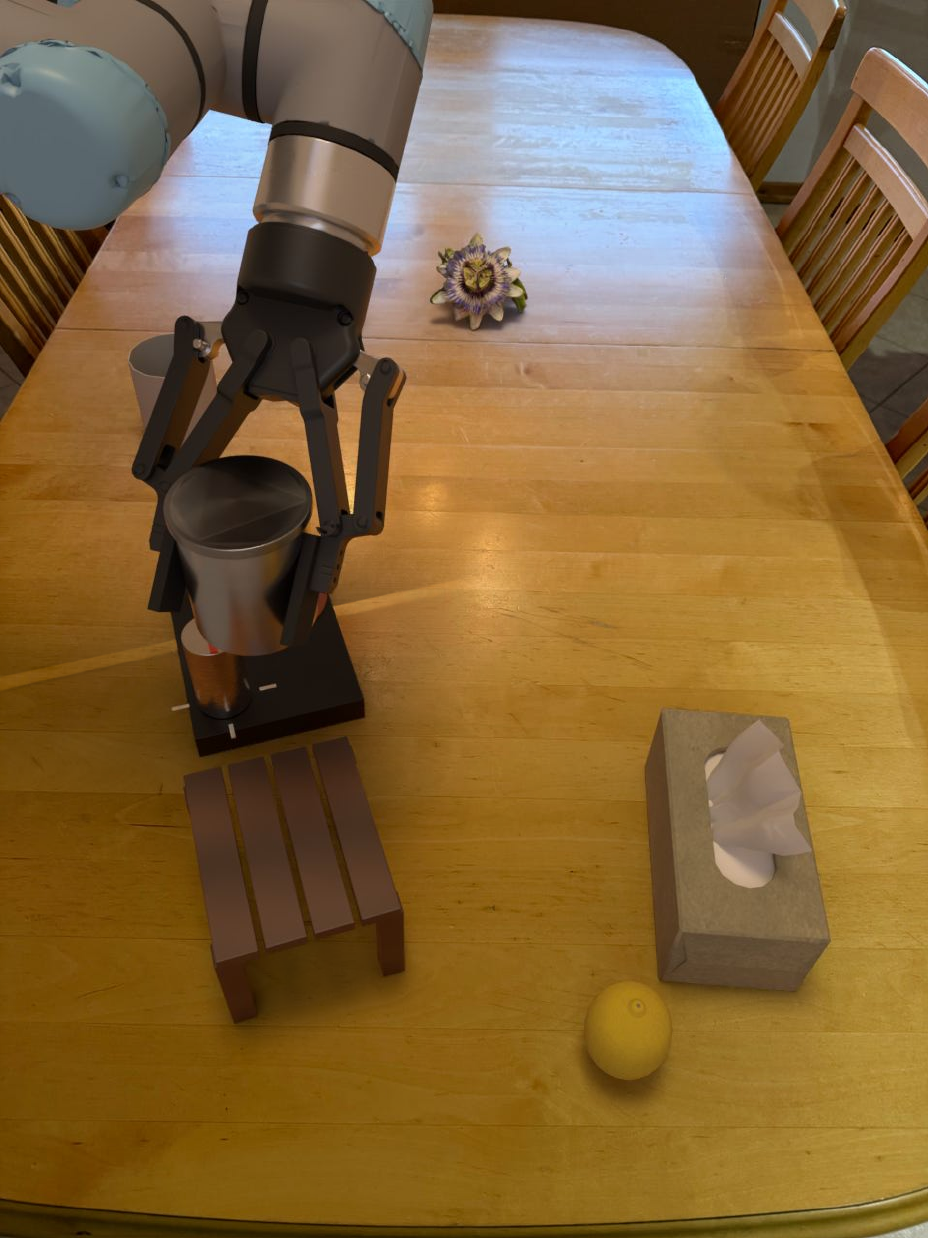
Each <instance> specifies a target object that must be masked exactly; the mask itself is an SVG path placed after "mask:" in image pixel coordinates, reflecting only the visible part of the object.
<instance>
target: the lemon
mask: <svg viewBox="0 0 928 1238" xmlns="http://www.w3.org/2000/svg"><path fill="white" fill-rule="evenodd" d="M583 1038H584V1042H585V1047H586V1049H587V1052H588V1054H589V1056H590V1058H591V1059H592V1061H593V1062H594V1063H595V1065H596V1066H597V1067H598V1068H599V1069H600V1070H602V1071H603V1072H604V1073H605V1074H607V1075H609V1076H612V1077H614V1078H616V1079H620V1080H625V1081H630V1080H631V1081H633V1080H639V1079H642V1078H644V1077H645V1078H646V1077H647V1076H649V1075H651V1074H652V1073H654V1072H655V1071H656V1070H658V1068H659V1067H660V1066H661V1064H662V1063H663V1062H664V1061H665V1059H666V1058H667V1056H668V1053H669V1051H670V1048H671V1046H672V1040H673V1023H672V1016H671V1013H670V1011H669V1008H668V1006H667V1004H666V1002H665V1001H664V1000H663V998H662V997H661V995H660V994H659V993H658V992H656V991H655V990H654V989H653V988H652V987H649V986H648V985H646V984H645V983H641V982H638V981H635V980H634V981H633V980H622V981H618V982H614V983H612V984H610V985H608V986H606V987H604V988H603V989H602V990H601V991H600V992H599V993H598V994H597V995H596V996H595V997H594V998H593V1000H592V1001H591V1003H590V1005H589V1006H588V1007H587V1010H586V1014H585V1017H584V1021H583Z"/></svg>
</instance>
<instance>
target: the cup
mask: <svg viewBox="0 0 928 1238" xmlns="http://www.w3.org/2000/svg"><path fill="white" fill-rule="evenodd" d="M173 353H174V332H172V333H164V334H156V335H154V336H151V337H148V338H146V339H143V340H140V341H139V342H138V343H137V344H135V346H134V347H132V348H131V349H130V350H129V353H128V357H127V363H128V368H129V371H130V377H131V380H132V384H133V387H134V392H135V396H136V400H137V404H138V409H139V413H140V417H141V420H142V425H143V429H144V431H145V430H146V427H147V425H148V422H149V419H150V416H151V414H152V411H153V408H154V406H155V403H156V400H157V398H158V395H159V392H160V390H161V387H162V384H163V382H164V379H165V376H166V374H167V371H168V368H169V366H170V363H171V360H172V357H173ZM213 360H214V359H213ZM213 360H211V363H210V369H209V373H208V376H207V379H206V382H205V385H204V387H203V390H202V393H201V395H200V398H199V401H198V403H197V406H196V409H195V411H194V414H193V417H192V419H191V422H190V424H189V427H188V430H187V432H186V435H185V438H184V440H183V443H182V445H183V444H184V442H185V441H186V439H187V438H188V436H189V435H190V433H191V432H192V430H193V429H194V427H195V426H196V424H197V423H198V421H199V420H200V418H201V417H202V415H203V414H204V412H205V411H206V409H207V408H208V406H209V405H210V403H211V402H212V400H213V399H214V397H215V395H216V393H217V386H218V384H217V379H216V378H217V377H216V372H215V367H214V361H213ZM181 447H182V446H181Z"/></svg>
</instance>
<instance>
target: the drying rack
mask: <svg viewBox="0 0 928 1238" xmlns="http://www.w3.org/2000/svg"><path fill="white" fill-rule="evenodd" d="M307 747H308V746H306V745H301V746H298V747H294V748H290V749H289V748H288V749H285V750H282V751H277V752H273V753H270V754H269V758H270V763H271V767H272V772H273V776H274V780H275V783H276V784H275V785H276V787H277V790H278V795H279V800H280V804H281V808H282V811H283V816H284V820H285V824H286V829H287V833H288V836H289V837H288V838H289V840H290V844H291V848H292V852H293V853H292V854H293V857H294V861H295V865H296V869H297V873H298V878H299V881H300V885H301V890H302V893H303V898H304V902H305V906H306V910H307V914H308V918H309V922H310V926H311V930H312V934H313V938H314V940H315V941H319V940H323V939H326V938H329V937H333V936H337V935H340V934H343V933H347V932H350V931H354V930H355V929H356V921H355V916H354V913H353V909H352V905H351V901H350V898H349V894H348V892H347V888H346V885H345V881H344V877H343V873H342V869H341V866H340V863H339V859H338V855H337V853H336V852H337V851H336V848H335V844H334V841H333V838H332V834H331V830H330V827H329V822H328V819H327V816H326V812H325V809H324V806H323V801H322V798H321V794H320V790H319V786H318V783H317V780H316V776H315V772H314V769H313V765H312V762H311V758H310V755H309V751H308V748H307ZM311 748H312V749H311V750H312V753H313V758H314V761H315V764H316V767H317V771H318V775H319V778H320V782H321V786H322V790H323V793H324V797H325V801H326V804H327V807H328V811H329V815H330V818H331V822H332V825H333V828H334V833H335V836H336V840H337V843H338V846H339V850H340V853H341V857H342V860H343V864H344V868H345V871H346V875H347V879H348V882H349V885H350V889H351V893H352V896H353V900H354V903H355V906H356V911H357V914H358V918H359V921H360V925H361V927H363V928H364V927H367V926H370V925H373V924H374V925H375V940H376V955H377V960H378V964H379V967H380V970H381V971H380V972H381V974H382V977H383V978H387V977H389V976H392V975H395V974H399V973H402V972H405V971H406V963H405V962H406V958H405V957H406V955H405V952H406V951H405V949H406V947H405V910H404V907H403V904H402V901H401V897H400V895H399V892H398V890H397V889H396V885H395V883H394V880H393V876H392V873H391V870H390V867H389V863H388V860H387V857H386V854H385V851H384V848H383V845H382V841H381V838H380V835H379V832H378V828H377V825H376V821H375V818H374V816H373V813H372V810H371V807H370V803H369V799H368V797H367V793H366V790H365V787H364V784H363V780H362V777H361V775H360V772H359V769H358V762H357V757H356V755H355V752H354V749H353V746H352V745H351V742H350V740H349V736H348V735H343V736H338V737H334V738H331V739H327V740H321V741H317V742H314V743H312V744H311ZM226 769H227V773H228V777H229V782H230V787H231V791H232V795H233V802H234V806H235V807H234V808H235V812H236V815H237V816H236V817H237V821H238V825H239V830H240V836H241V839H242V844H243V849H244V854H245V858H246V863H247V868H248V873H249V878H250V883H251V887H252V892H253V896H254V902H255V906H256V907H255V908H256V911H257V916H258V921H259V925H260V930H261V935H262V936H261V937H262V940H263V945H264V949H265V953H266V955H267V956H269V955H272V954H276V953H279V952H283V951H286V950H289V949H294V948H296V947H300V946H303V945H306V944H309V937H308V932H307V928H306V924H305V920H304V916H303V911H302V907H301V903H300V900H299V896H298V892H297V887H296V883H295V879H294V874H293V871H292V865H291V862H290V857H289V853H288V850H287V846H286V842H285V837H284V832H283V828H282V824H281V820H280V815H279V813H278V808H277V804H276V799H275V796H274V792H273V787H272V783H271V780H270V775H269V771H268V767H267V761H266V758H265V756H264V755H260V756H257V757H254V758H253V757H252V758H249V759H244V760H240V761H237V762H236V761H235V762H233V763H229V764H228V763H227V765H226ZM182 778H183V783H184V786H183V787H182V789H183V794H184V801H185V806H186V809H187V812H188V817H189V818H190V825H191V831H192V836H193V842H194V848H195V853H196V860H197V866H198V872H199V878H200V882H201V883H200V884H201V887H202V894H203V900H204V906H205V911H206V916H207V917H206V918H207V923H208V928H209V935H210V940H211V944H210V945H209V947H210V953H211V959H212V964H213V969H214V972H215V975H216V977H217V980H218V983H219V985H220V988H221V991H222V994H223V997H224V1000H225V1002H226V1005H227V1008H228V1011H229V1013H230V1017H231V1019H232V1022H233V1024H237V1023H241V1022H243V1021H247V1020H249V1019H254V1018H256V1017H258V1011H257V1006H256V1002H255V1001H256V1000H255V995H254V992H253V990H252V985H251V983H250V979H249V975H248V972H247V969H246V966H245V963H246V962H249V961H253V960H256V959H260V958H261V952H260V949H259V943H258V938H257V933H256V928H255V924H254V919H253V915H252V910H251V909H252V908H251V905H250V899H249V895H248V894H249V893H248V889H247V885H246V880H245V875H244V869H243V866H242V860H241V855H240V850H239V846H238V840H237V836H236V831H235V826H234V821H233V815H232V811H231V807H230V801H229V798H228V792H227V787H226V782H225V777H224V772H223V769H222V766H220V765H219V766H216V767H211V768H209V769H204V770H203V769H202V770H199V771H195V772H191V773H187V774H183V776H182Z"/></svg>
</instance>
